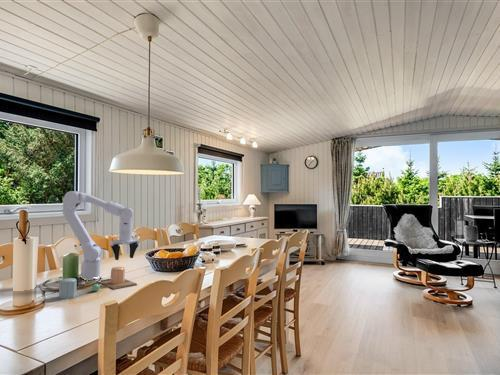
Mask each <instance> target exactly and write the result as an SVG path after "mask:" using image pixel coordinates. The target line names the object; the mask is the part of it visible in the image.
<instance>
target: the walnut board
mask: <svg viewBox="0 0 500 375" xmlns="http://www.w3.org/2000/svg"><path fill="white" fill-rule="evenodd" d="M100 280H101V282H100V283H99V284H102V285H103V286H105V287H108V288H109V289H112V290H114V291H115V290H119V289H125V288H129V287H130V288H131V287H134V286H138V284H137V283H136V282H133V281H131V280H128V279H126V278H124V283H121V284H112V283H110V280H111V278H106V279H105V278H104V279H100Z"/></svg>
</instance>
